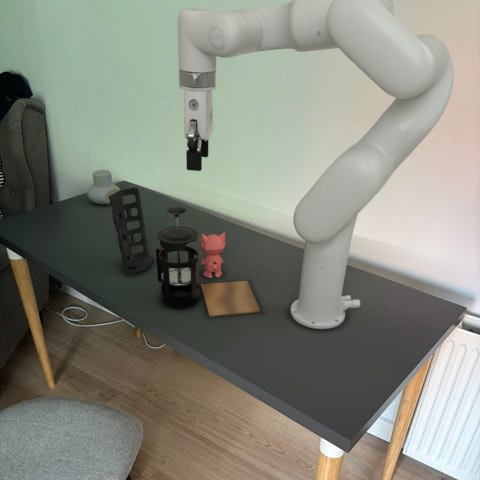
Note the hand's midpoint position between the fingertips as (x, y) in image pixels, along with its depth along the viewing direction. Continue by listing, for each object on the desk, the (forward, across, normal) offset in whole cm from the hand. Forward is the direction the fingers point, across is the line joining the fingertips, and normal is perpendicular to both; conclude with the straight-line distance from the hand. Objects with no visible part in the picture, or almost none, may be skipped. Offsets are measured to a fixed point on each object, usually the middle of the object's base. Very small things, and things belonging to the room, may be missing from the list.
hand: (197, 163), depth 114 cm
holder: (+30, +4, +18) cm, 35 cm away
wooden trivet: (+30, -8, -9) cm, 32 cm away
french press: (+30, -10, +3) cm, 32 cm away
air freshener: (+31, +47, +39) cm, 69 cm away
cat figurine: (+30, +3, -4) cm, 30 cm away
